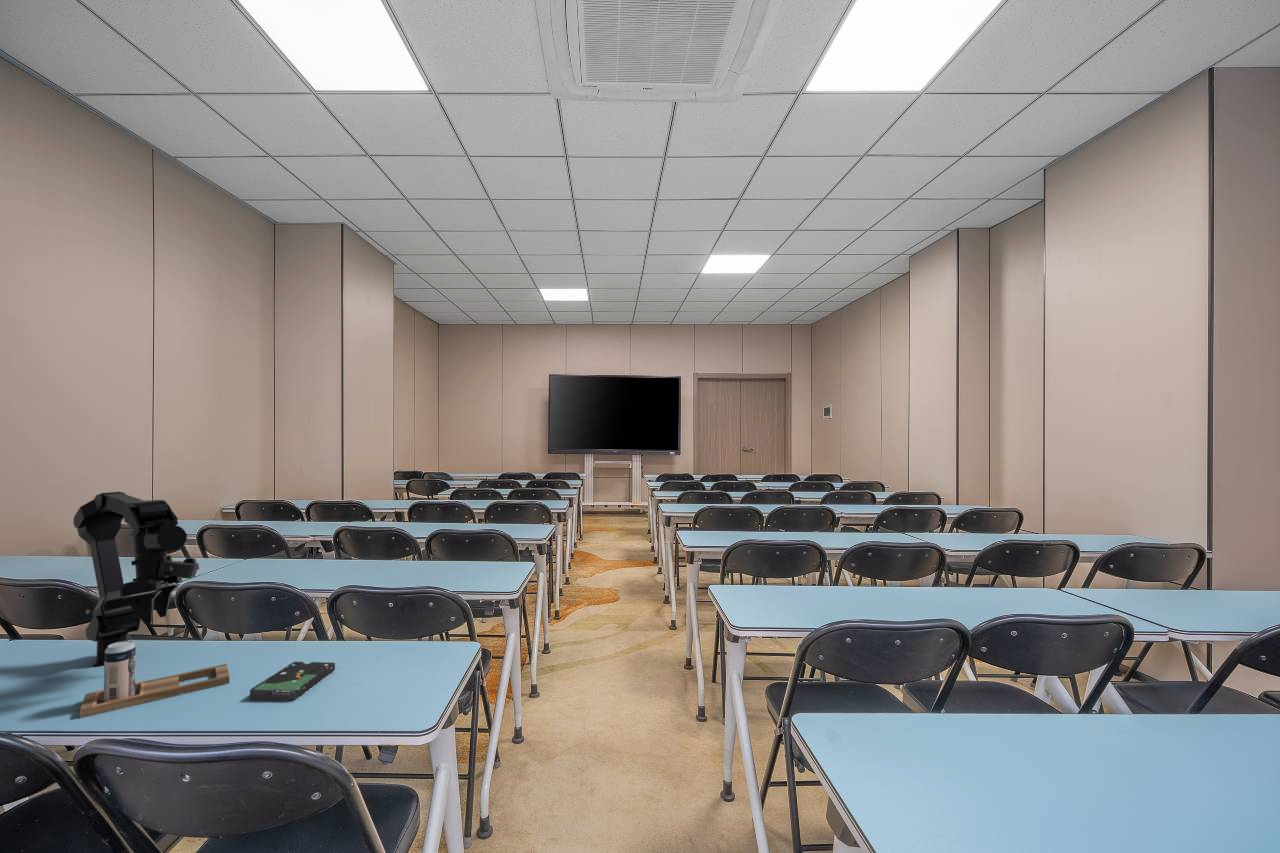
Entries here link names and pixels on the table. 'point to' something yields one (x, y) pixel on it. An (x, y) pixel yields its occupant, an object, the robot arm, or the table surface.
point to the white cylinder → (119, 671)
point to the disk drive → (291, 681)
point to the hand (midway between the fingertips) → (155, 620)
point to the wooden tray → (156, 690)
